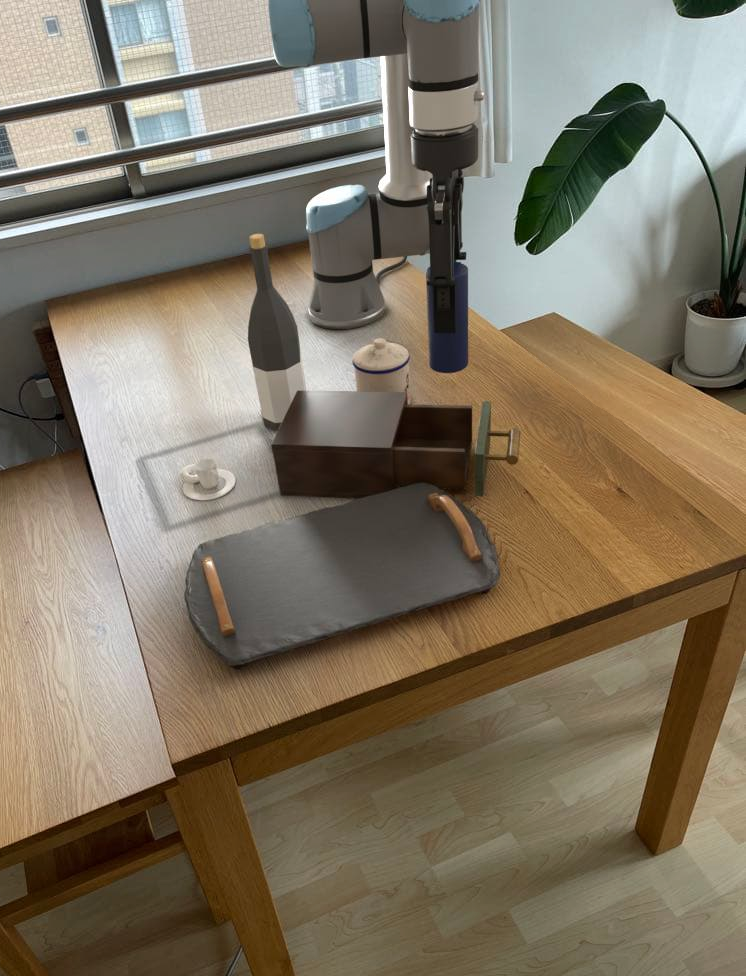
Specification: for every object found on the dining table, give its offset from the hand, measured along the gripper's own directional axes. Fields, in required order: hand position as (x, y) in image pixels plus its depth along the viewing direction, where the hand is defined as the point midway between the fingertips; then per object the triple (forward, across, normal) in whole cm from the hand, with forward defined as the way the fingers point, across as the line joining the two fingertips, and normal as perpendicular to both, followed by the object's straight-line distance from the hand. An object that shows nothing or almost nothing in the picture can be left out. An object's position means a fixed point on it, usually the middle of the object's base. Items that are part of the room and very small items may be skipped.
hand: (447, 321), depth 106 cm
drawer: (+21, -2, 0) cm, 22 cm away
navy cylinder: (+6, 0, 0) cm, 6 cm away
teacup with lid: (+23, +17, +13) cm, 31 cm away
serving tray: (+22, -26, +11) cm, 36 cm away
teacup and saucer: (+23, -5, +35) cm, 42 cm away
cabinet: (+22, -2, +15) cm, 27 cm away
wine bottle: (+23, +11, +28) cm, 38 cm away
